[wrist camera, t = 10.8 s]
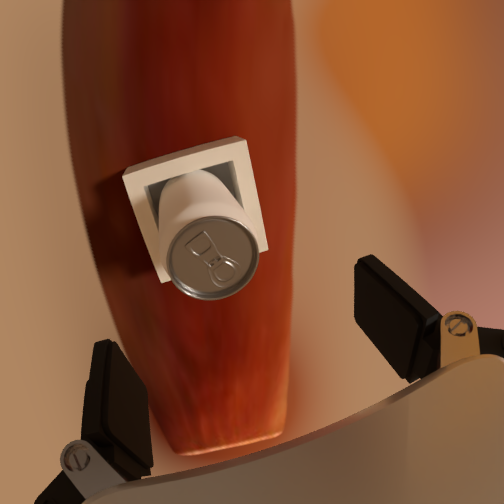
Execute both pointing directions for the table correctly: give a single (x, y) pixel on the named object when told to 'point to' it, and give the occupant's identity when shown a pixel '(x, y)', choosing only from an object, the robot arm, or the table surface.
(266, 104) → the table surface
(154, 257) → the dock socket
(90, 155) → the table surface
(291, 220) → the table surface
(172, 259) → the can
